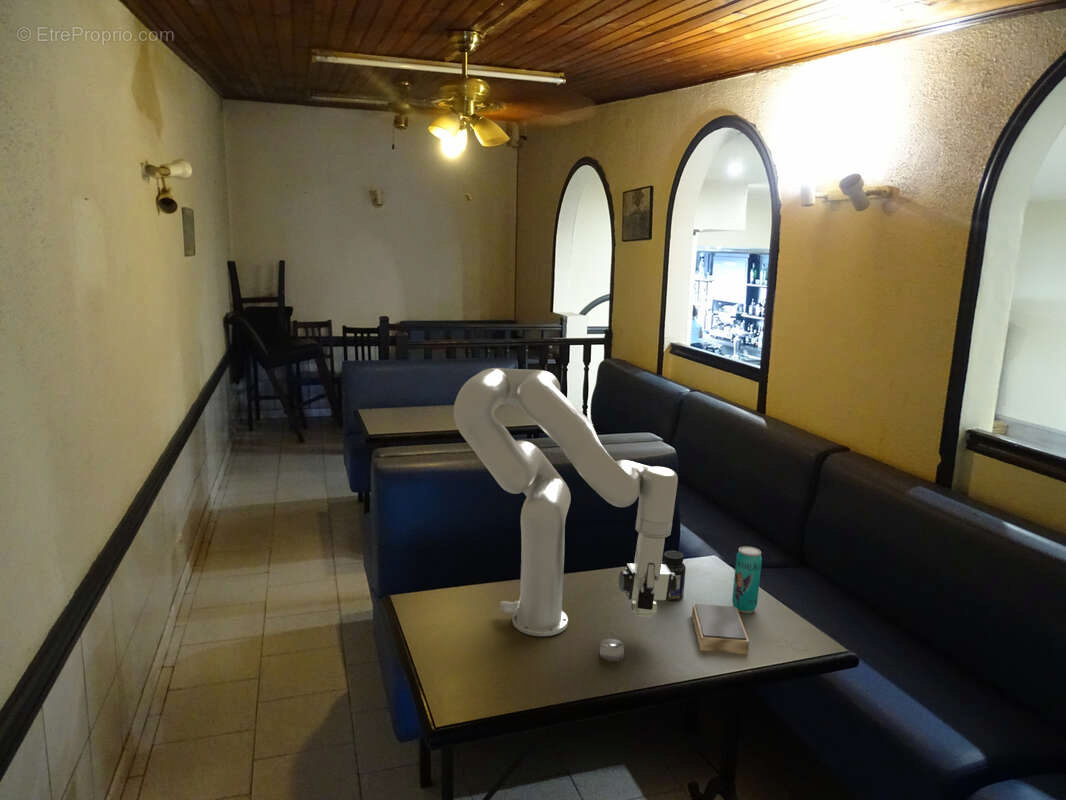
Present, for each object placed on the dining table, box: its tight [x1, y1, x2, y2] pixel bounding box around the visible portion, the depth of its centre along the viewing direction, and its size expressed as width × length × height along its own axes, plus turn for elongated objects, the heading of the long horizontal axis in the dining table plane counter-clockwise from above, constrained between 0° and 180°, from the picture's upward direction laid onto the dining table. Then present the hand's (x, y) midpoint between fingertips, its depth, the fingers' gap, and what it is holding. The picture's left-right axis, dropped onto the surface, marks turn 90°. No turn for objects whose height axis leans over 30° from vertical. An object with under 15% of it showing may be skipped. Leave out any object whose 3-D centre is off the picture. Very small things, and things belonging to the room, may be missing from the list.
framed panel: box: [691, 603, 750, 655], centre depth 164 cm, size 10×15×3 cm, turn 175°
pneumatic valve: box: [618, 563, 677, 618], centre depth 160 cm, size 6×12×12 cm, turn 98°
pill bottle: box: [662, 550, 686, 602], centre depth 180 cm, size 6×6×11 cm
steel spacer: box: [599, 638, 625, 662], centre depth 154 cm, size 5×5×2 cm
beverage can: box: [731, 545, 763, 614], centre depth 174 cm, size 6×6×15 cm
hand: (643, 600), depth 161 cm, fingers closed on pneumatic valve, 5 cm apart
